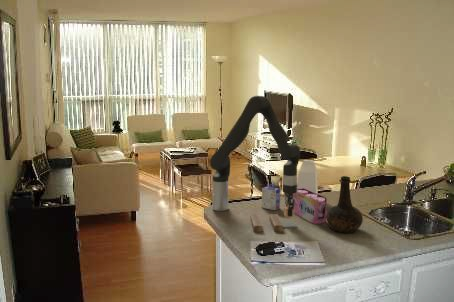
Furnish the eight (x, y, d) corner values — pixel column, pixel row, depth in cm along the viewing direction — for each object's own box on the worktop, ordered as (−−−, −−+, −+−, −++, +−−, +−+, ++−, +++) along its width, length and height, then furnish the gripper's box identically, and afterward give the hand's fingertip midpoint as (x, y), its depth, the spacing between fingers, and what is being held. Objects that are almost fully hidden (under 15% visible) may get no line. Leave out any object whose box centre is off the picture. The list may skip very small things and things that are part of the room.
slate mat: (282, 228, 227) (282, 226, 227) (279, 222, 235) (279, 221, 235) (297, 227, 228) (297, 226, 228) (294, 222, 236) (294, 221, 236)
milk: (296, 202, 272) (297, 161, 267) (298, 197, 283) (300, 158, 278) (315, 204, 269) (317, 162, 264) (317, 199, 279) (319, 159, 275)
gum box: (328, 223, 235) (329, 198, 233) (316, 225, 232) (316, 200, 230) (303, 210, 257) (304, 188, 254) (291, 212, 254) (292, 189, 251)
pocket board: (253, 231, 222) (253, 225, 221) (250, 220, 239) (250, 214, 239) (282, 231, 222) (283, 225, 222) (277, 219, 240) (277, 214, 240)
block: (285, 217, 228) (285, 208, 228) (283, 214, 233) (284, 206, 232) (294, 216, 229) (294, 208, 228) (292, 214, 233) (292, 206, 232)
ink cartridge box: (280, 208, 260) (281, 184, 258) (275, 210, 256) (276, 186, 253) (266, 205, 266) (266, 182, 263) (261, 207, 261) (261, 184, 259)
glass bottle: (365, 227, 228) (368, 175, 223) (356, 238, 213) (359, 182, 208) (331, 221, 237) (334, 171, 232) (321, 232, 222) (323, 178, 217)
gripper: (280, 179, 234) (279, 210, 237) (285, 186, 220) (284, 219, 223) (294, 179, 235) (293, 210, 238) (299, 186, 221) (298, 219, 224)
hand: (289, 214), depth 230 cm, fingers closed on block, 4 cm apart
